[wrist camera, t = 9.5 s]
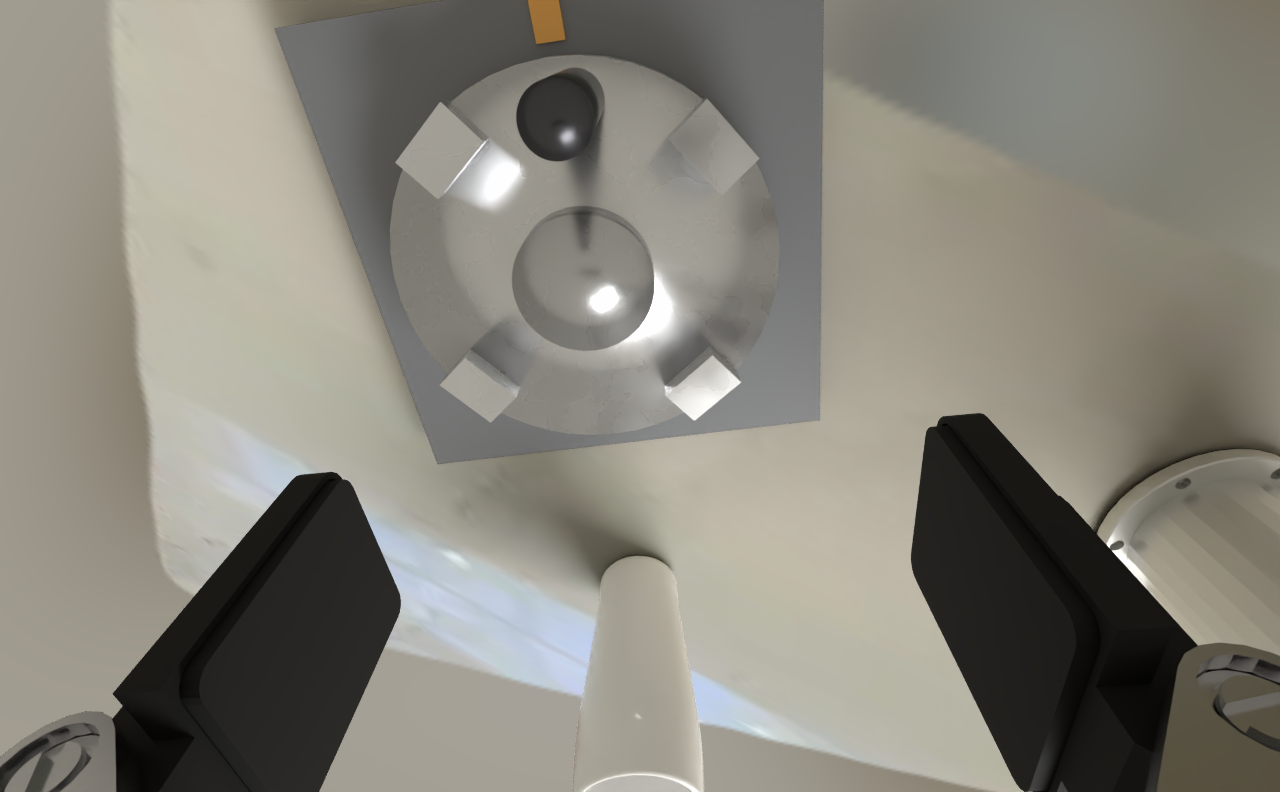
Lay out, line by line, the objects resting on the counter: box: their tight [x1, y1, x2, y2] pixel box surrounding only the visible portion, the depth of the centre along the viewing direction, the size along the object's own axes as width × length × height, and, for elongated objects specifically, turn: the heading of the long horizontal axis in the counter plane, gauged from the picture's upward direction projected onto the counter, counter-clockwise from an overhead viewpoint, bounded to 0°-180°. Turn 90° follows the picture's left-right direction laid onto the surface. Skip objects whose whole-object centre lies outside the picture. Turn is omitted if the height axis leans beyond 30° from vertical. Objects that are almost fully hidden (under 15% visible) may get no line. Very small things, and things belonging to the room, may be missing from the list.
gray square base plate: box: [274, 0, 824, 464], centre depth 30 cm, size 22×22×2 cm
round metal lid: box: [390, 54, 780, 435], centre depth 25 cm, size 17×17×10 cm
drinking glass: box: [573, 556, 704, 792], centre depth 37 cm, size 7×7×15 cm
